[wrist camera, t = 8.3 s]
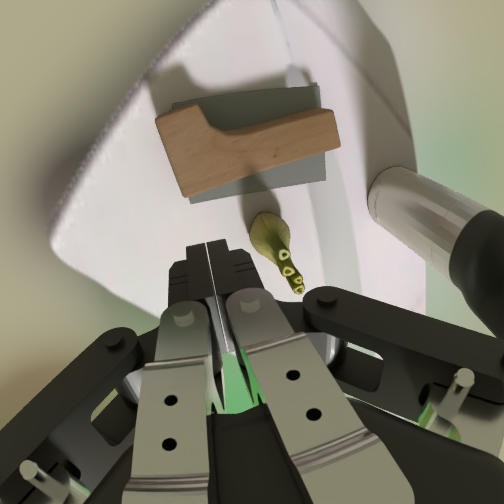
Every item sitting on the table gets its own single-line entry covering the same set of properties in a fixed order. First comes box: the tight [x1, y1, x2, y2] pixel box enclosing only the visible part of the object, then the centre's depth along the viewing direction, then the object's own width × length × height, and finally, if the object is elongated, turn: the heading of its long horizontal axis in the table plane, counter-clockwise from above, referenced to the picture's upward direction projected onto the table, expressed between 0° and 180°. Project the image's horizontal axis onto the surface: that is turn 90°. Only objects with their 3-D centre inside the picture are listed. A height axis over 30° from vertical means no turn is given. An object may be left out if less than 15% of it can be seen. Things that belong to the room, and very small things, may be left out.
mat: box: [173, 86, 326, 204], centre depth 36 cm, size 17×12×1 cm
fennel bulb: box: [249, 213, 305, 295], centre depth 36 cm, size 6×5×12 cm
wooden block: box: [155, 103, 341, 198], centre depth 33 cm, size 9×4×18 cm
